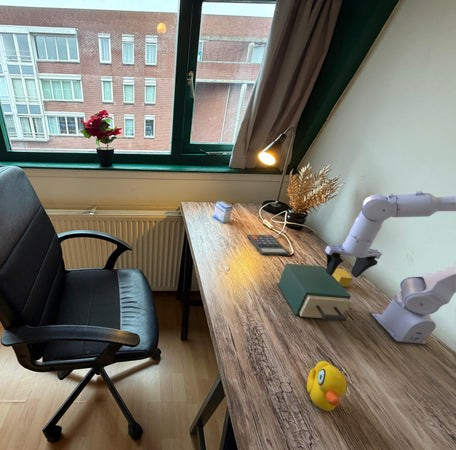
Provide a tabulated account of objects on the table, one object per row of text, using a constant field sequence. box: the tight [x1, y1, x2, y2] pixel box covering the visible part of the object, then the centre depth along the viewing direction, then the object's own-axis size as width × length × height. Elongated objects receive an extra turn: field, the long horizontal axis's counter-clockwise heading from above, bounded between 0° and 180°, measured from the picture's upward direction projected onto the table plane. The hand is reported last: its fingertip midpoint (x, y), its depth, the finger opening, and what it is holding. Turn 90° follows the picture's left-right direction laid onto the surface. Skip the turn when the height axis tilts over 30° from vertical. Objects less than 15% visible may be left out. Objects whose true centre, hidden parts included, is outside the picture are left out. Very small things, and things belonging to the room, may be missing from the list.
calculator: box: [247, 234, 290, 256], centre depth 108 cm, size 12×1×15 cm
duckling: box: [306, 360, 348, 412], centre depth 50 cm, size 11×5×10 cm, turn 151°
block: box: [332, 268, 354, 288], centre depth 88 cm, size 5×4×4 cm
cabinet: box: [278, 263, 352, 316], centre depth 77 cm, size 14×13×9 cm
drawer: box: [299, 295, 351, 322], centre depth 74 cm, size 17×11×7 cm
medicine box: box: [213, 200, 233, 224], centre depth 127 cm, size 8×4×9 cm, turn 25°
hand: (341, 274), depth 76 cm, fingers open, 7 cm apart
